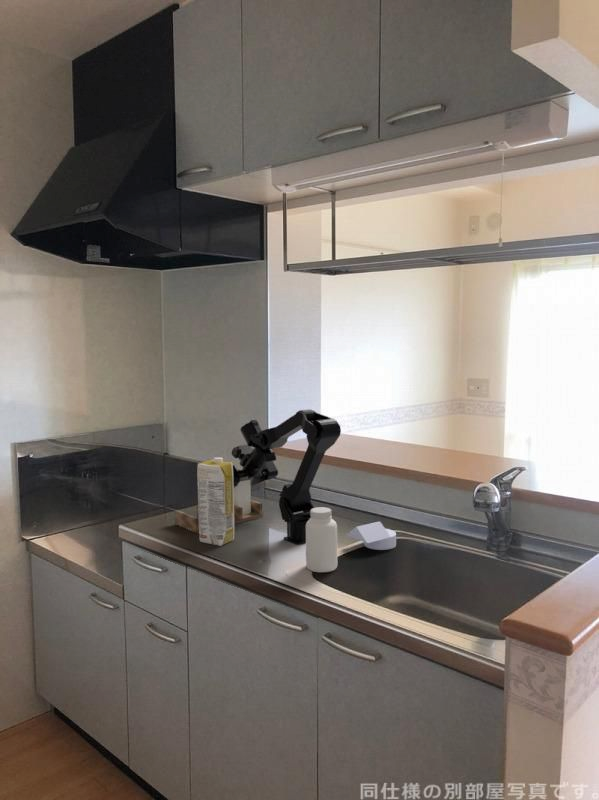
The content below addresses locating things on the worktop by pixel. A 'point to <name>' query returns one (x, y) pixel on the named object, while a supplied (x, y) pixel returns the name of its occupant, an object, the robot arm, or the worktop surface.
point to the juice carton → (215, 501)
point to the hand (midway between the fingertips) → (240, 487)
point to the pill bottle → (321, 541)
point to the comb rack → (256, 512)
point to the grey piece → (243, 495)
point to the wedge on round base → (374, 536)
